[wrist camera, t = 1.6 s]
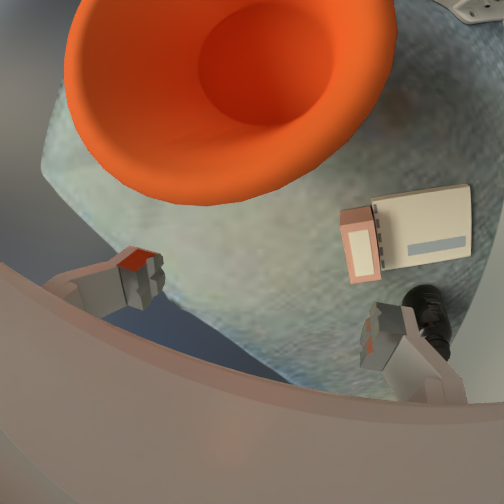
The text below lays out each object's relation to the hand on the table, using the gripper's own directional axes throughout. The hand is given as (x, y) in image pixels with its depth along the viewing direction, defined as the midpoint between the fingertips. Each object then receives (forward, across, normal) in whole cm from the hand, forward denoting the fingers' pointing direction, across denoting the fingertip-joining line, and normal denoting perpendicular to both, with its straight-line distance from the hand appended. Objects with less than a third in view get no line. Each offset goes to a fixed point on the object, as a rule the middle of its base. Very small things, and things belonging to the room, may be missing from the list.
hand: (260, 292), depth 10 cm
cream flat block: (+27, -16, +4) cm, 32 cm away
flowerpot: (+27, +8, -13) cm, 31 cm away
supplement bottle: (+28, -20, +16) cm, 38 cm away
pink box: (+27, -8, +8) cm, 29 cm away
